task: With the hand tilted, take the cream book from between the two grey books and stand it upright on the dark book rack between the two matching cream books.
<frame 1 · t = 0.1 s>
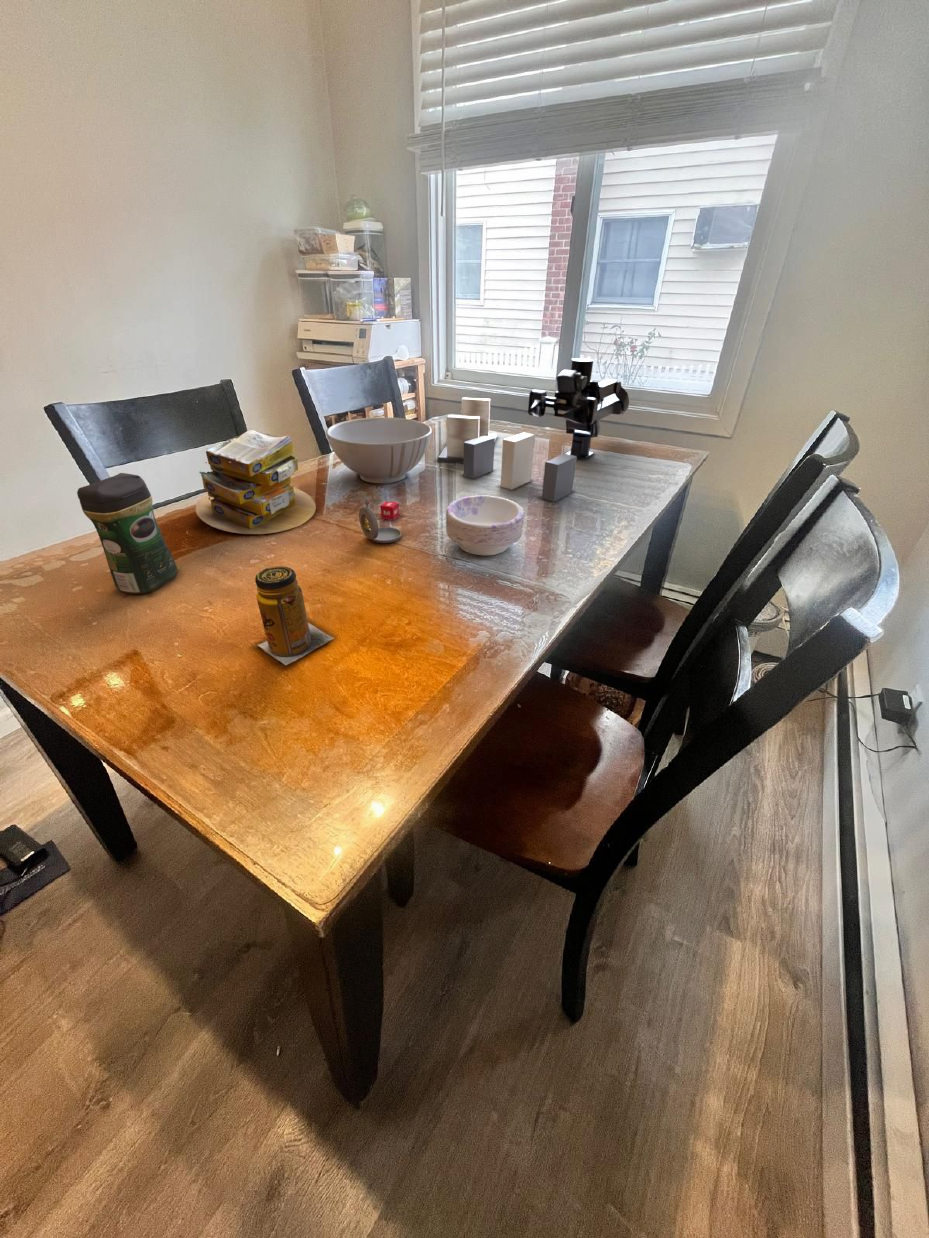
hand: (547, 413, 131), 17 cm above the table, tool horizontal, fingers open, 9 cm apart
grey books: (515, 483, 135), on the table
coffee jar: (148, 583, 91), on the table
dice: (390, 517, 116), on the table
pocket watch: (380, 540, 107), on the table
paper stack: (259, 514, 117), on the table
decorative bowl: (383, 476, 139), on the table
white book: (515, 483, 135), on the table
book rack: (469, 448, 162), on the table
cream and purple bowl: (483, 546, 105), on the table
condiment: (296, 644, 77), on the table
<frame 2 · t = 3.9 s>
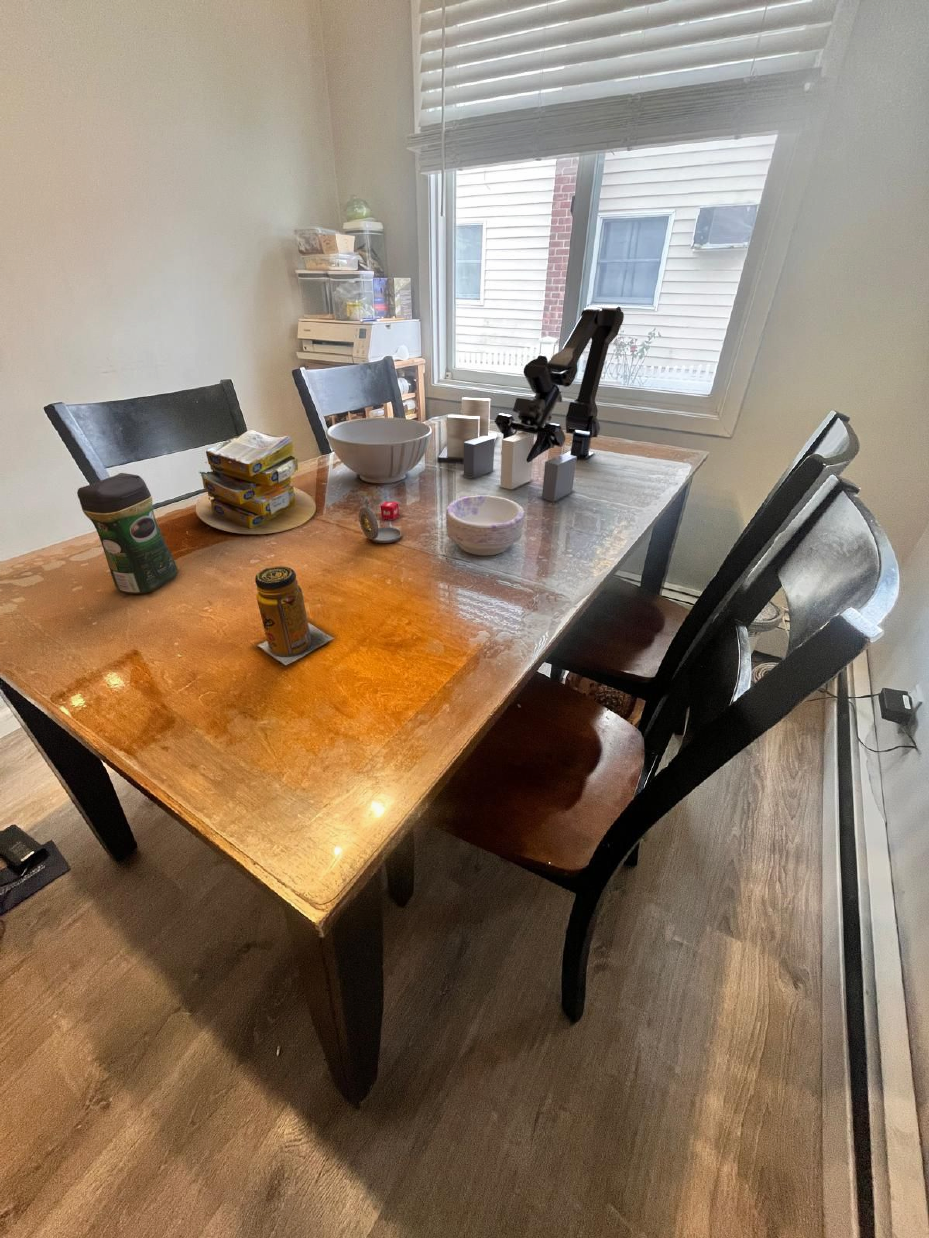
hand: (514, 458, 131), 7 cm above the table, tool tilted 45°, fingers closed on white book, 7 cm apart
white book: (515, 483, 135), on the table, touching gripper
everything else where it was.
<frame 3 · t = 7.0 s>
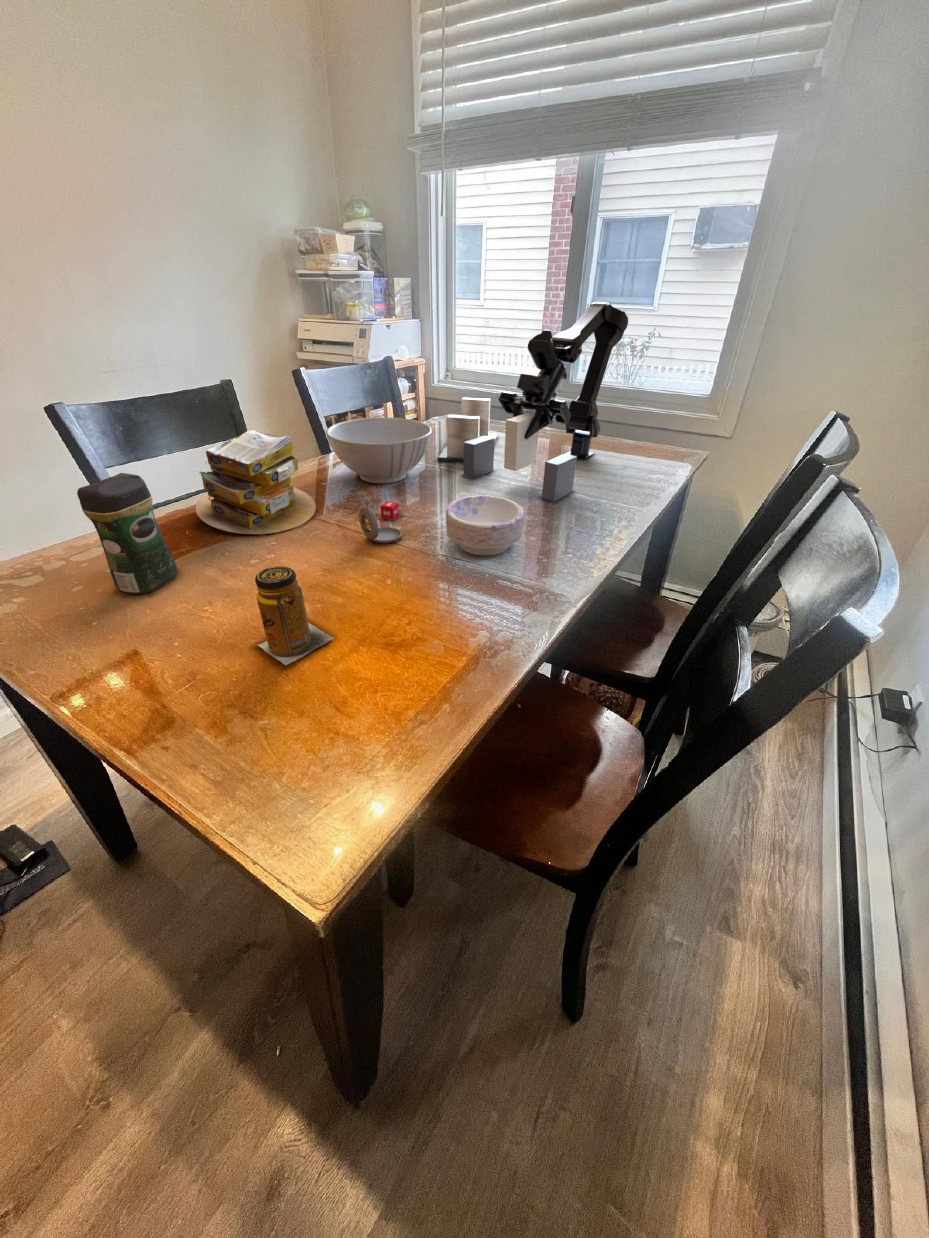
hand: (518, 436, 129), 12 cm above the table, tool tilted 45°, fingers closed on white book, 4 cm apart
white book: (520, 465, 134), point 5 cm above the table, touching gripper
everything else where it was.
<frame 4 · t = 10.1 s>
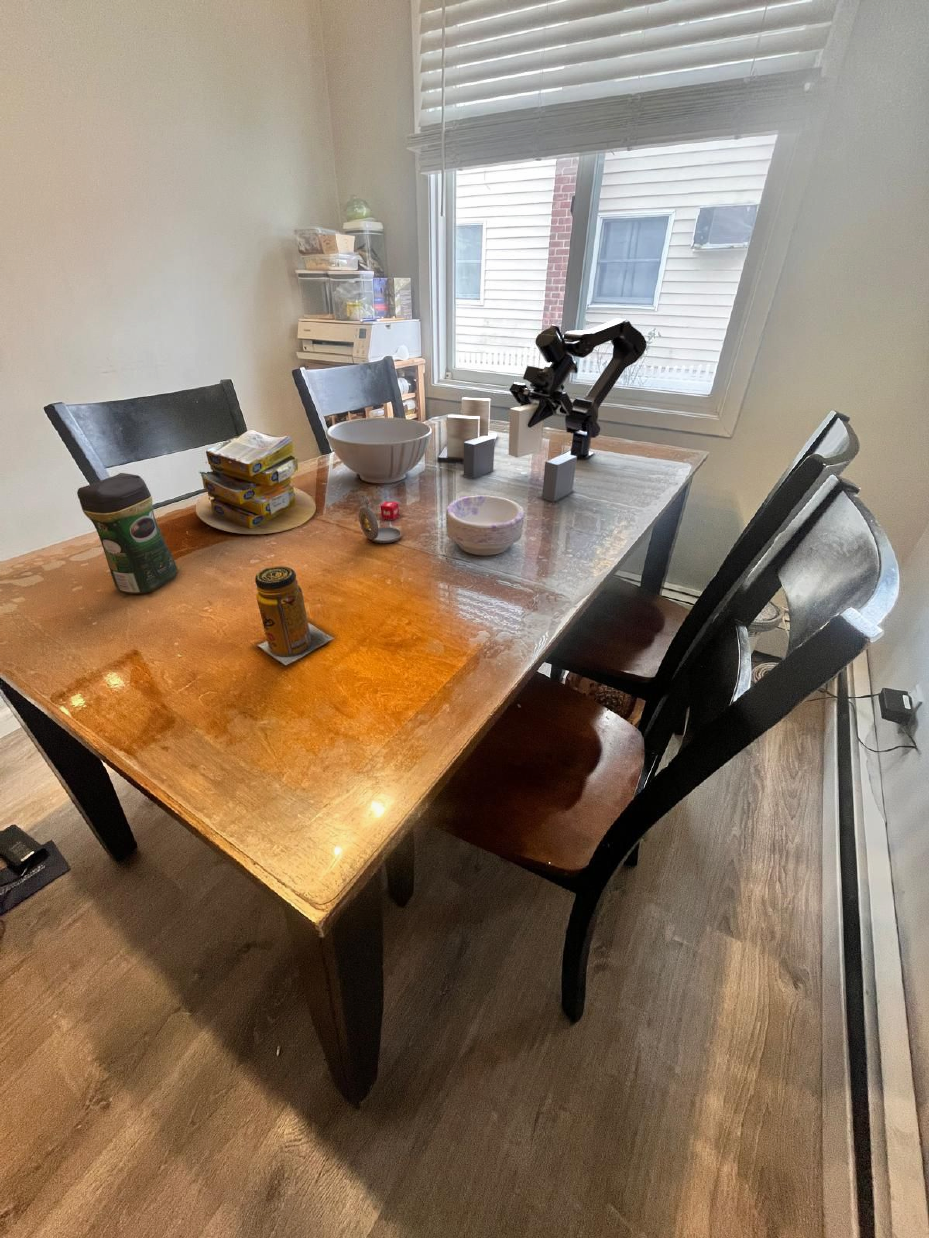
hand: (523, 425, 136), 13 cm above the table, tool tilted 45°, fingers closed on white book, 4 cm apart
white book: (524, 452, 141), point 5 cm above the table, touching gripper
everything else where it was.
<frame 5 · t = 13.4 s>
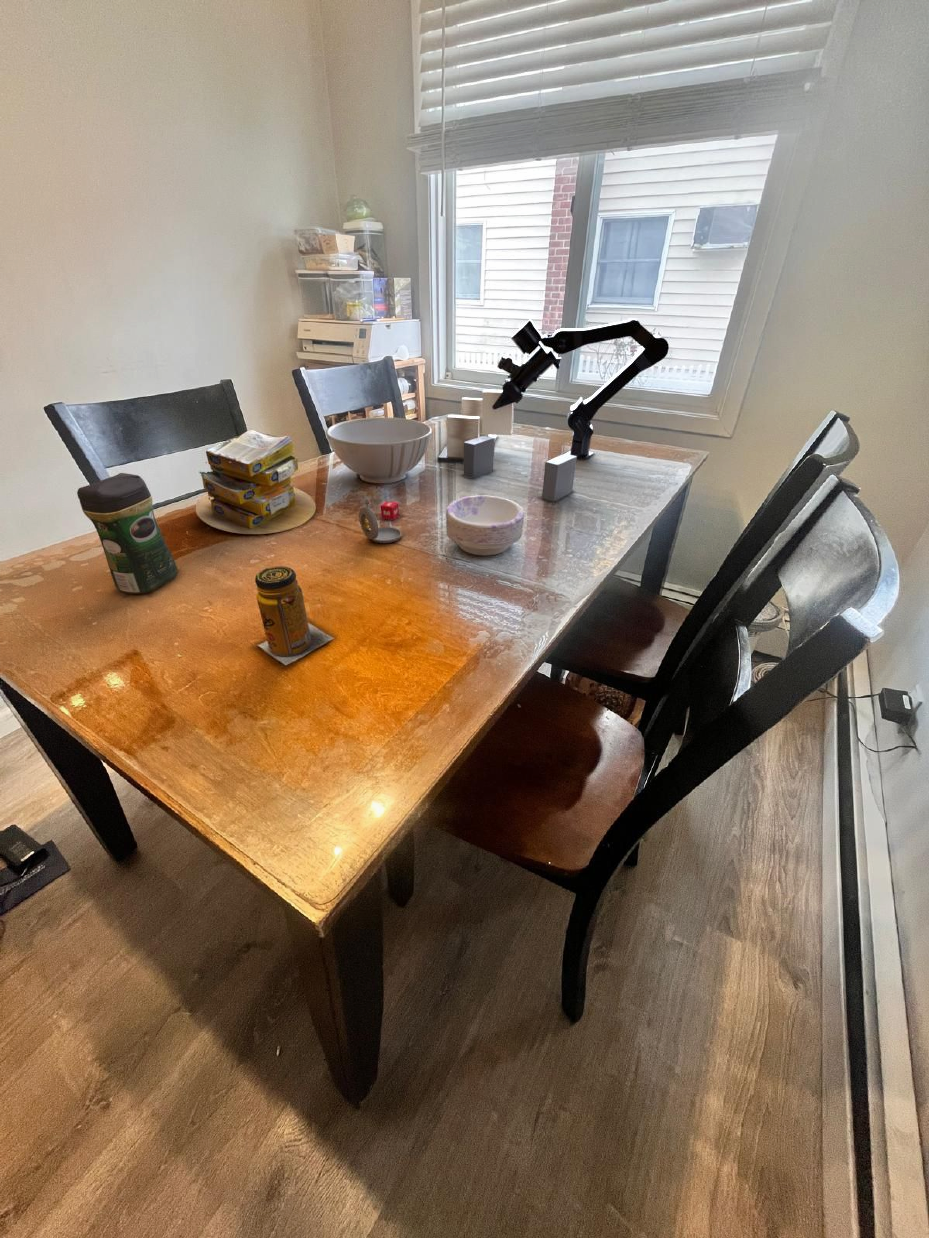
hand: (493, 407, 154), 13 cm above the table, tool tilted 45°, fingers closed on white book, 4 cm apart
white book: (497, 433, 158), point 5 cm above the table, touching gripper
everything else where it was.
when the fingers open (9 cm above the table, at t = 16.4 s): white book stays where it is, resting on book rack.
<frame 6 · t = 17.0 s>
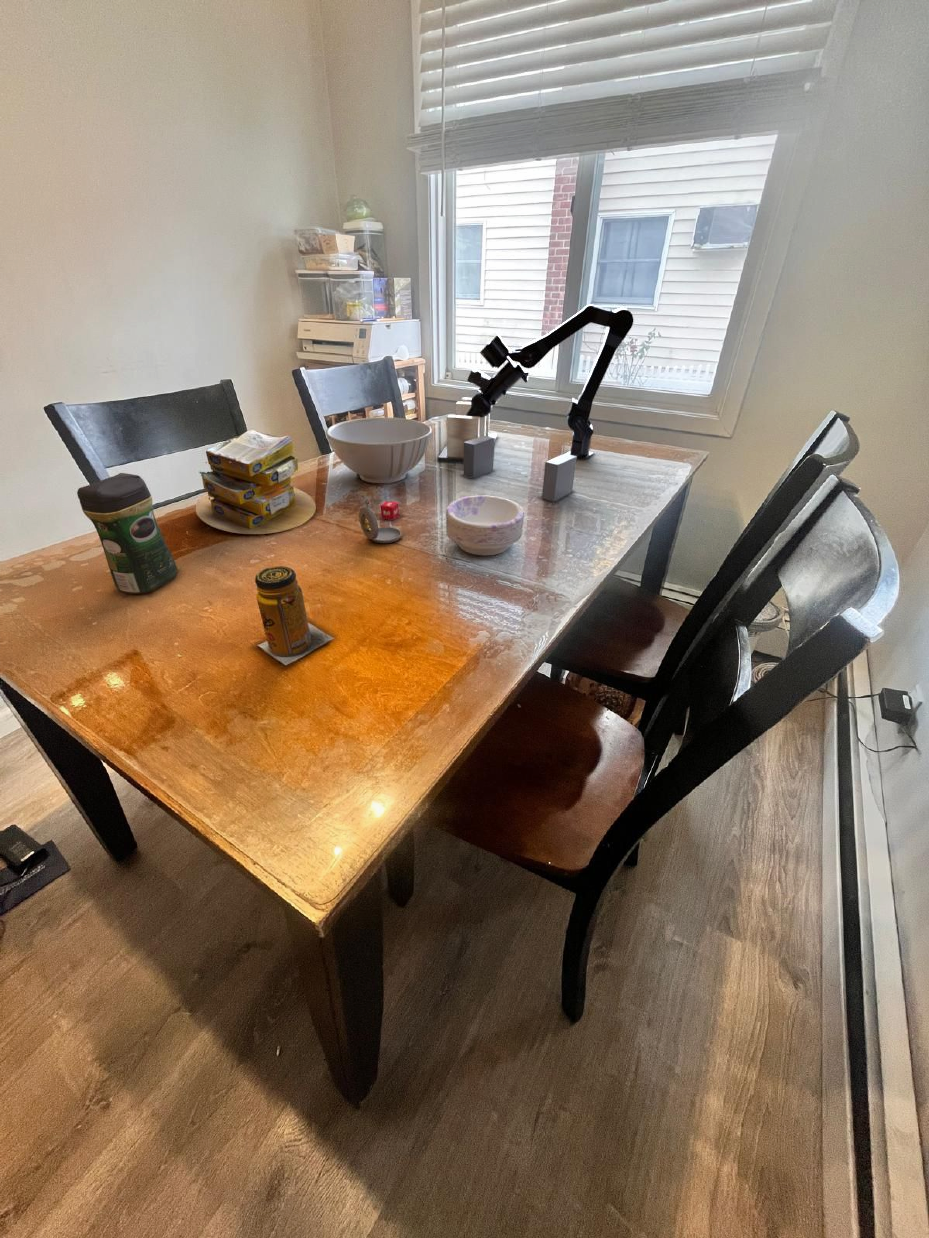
hand: (465, 418, 157), 9 cm above the table, tool tilted 45°, fingers open, 9 cm apart
white book: (470, 444, 161), point 1 cm above the table, touching book rack
everything else where it was.
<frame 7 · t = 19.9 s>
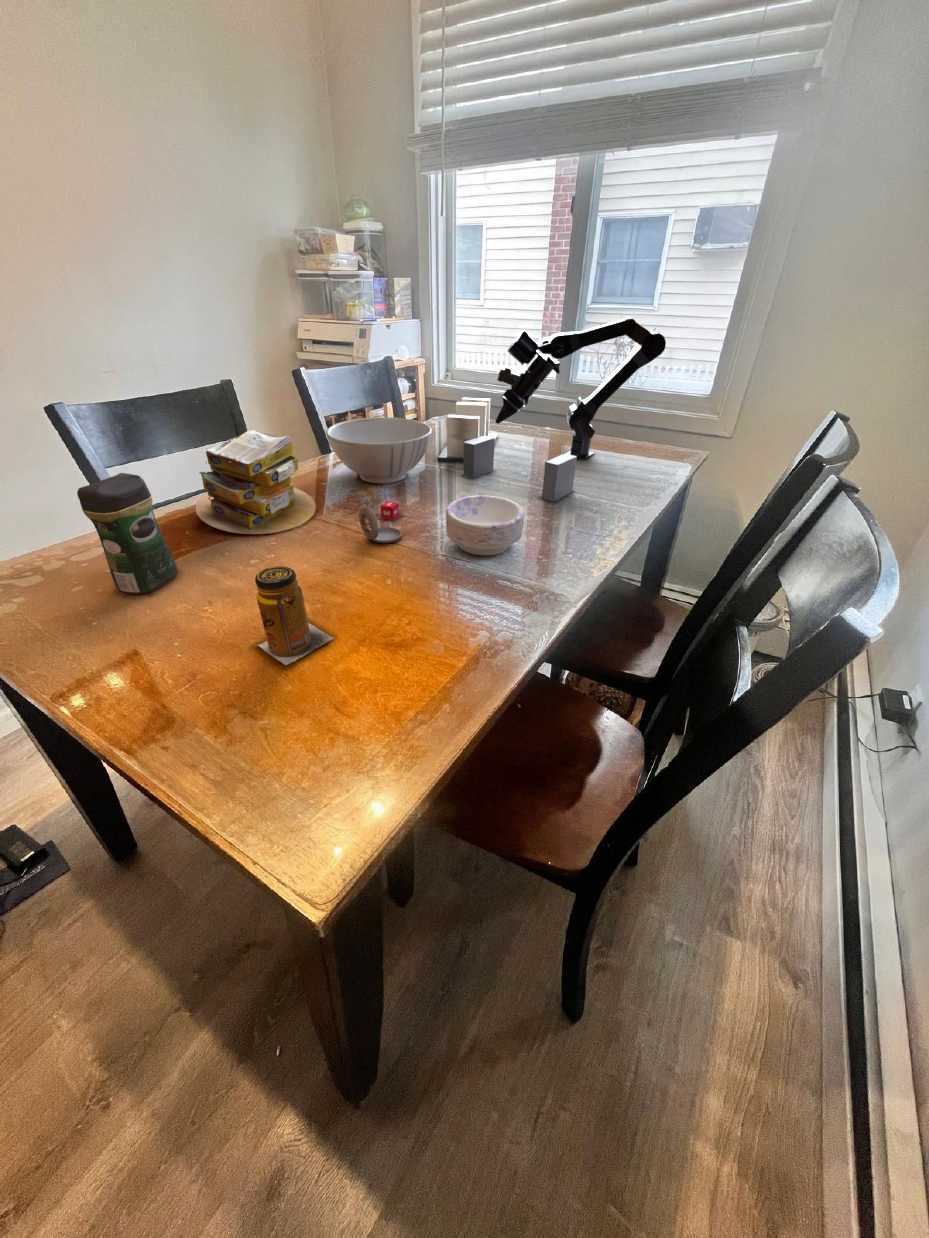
hand: (498, 421, 153), 9 cm above the table, tool tilted 35°, fingers open, 9 cm apart
nothing on the table moved.
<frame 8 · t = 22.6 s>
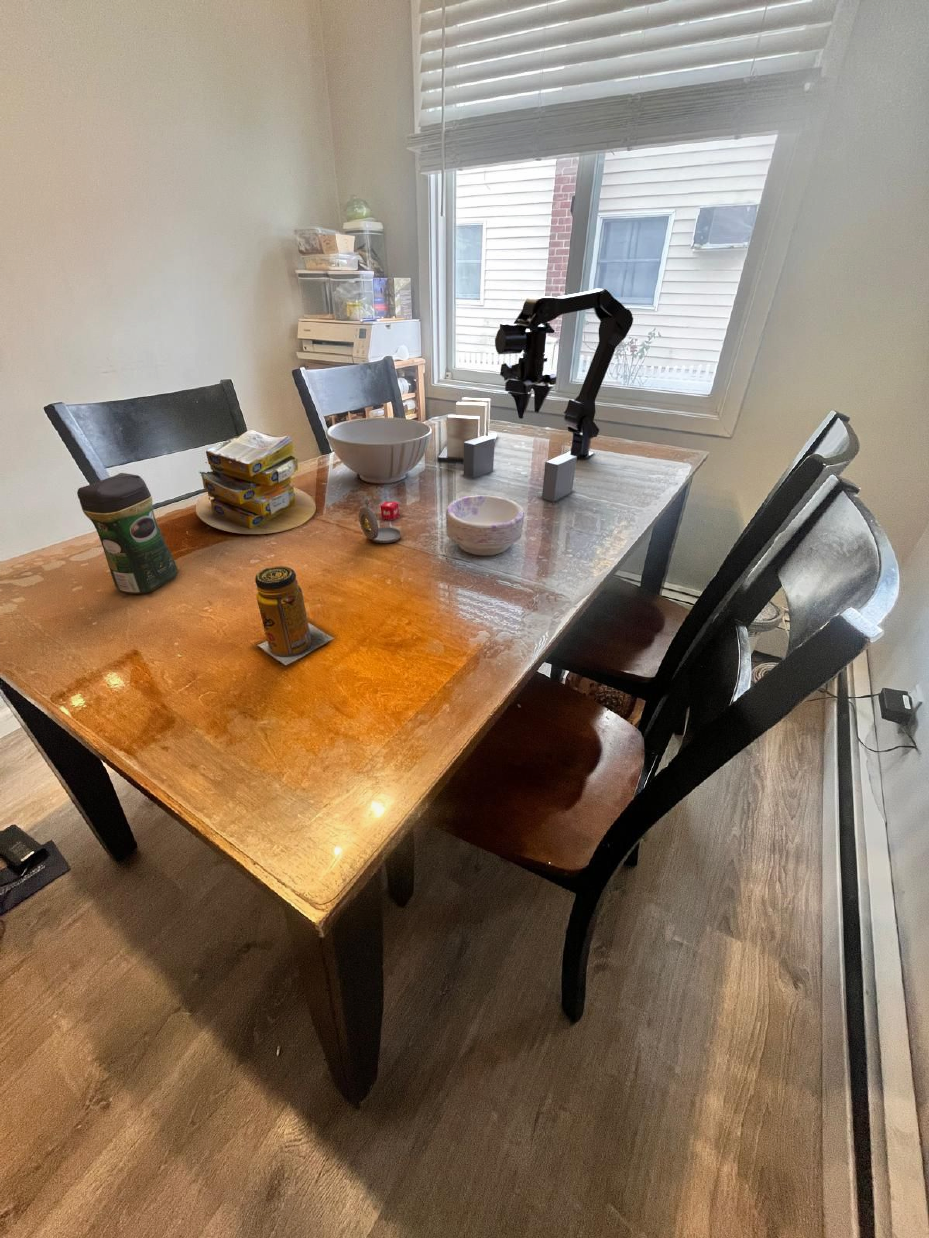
hand: (528, 415, 144), 13 cm above the table, tool pointing down, fingers open, 9 cm apart
nothing on the table moved.
at the end: white book 0.5 cm off-centre on the book rack, point 1.2 cm above the book rack's base; white book tilted 0°; white book moved 34.2 cm from its start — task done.
